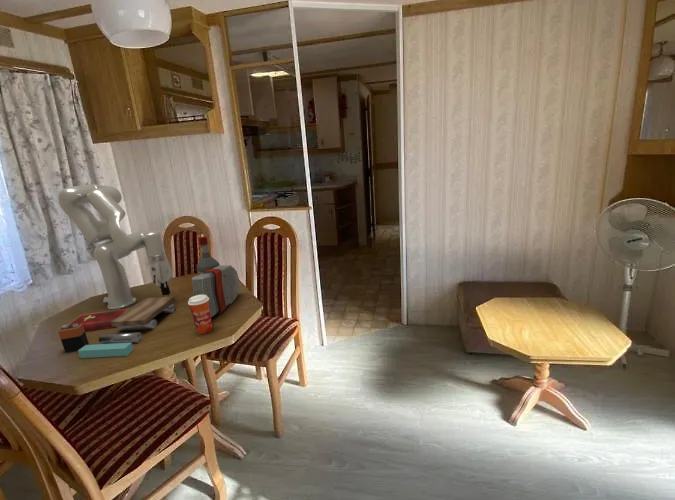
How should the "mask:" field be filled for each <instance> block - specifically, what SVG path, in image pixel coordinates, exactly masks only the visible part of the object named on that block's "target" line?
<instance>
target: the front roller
mask: <svg viewBox="0 0 675 500" xmlns="http://www.w3.org/2000/svg"><path fill="white" fill-rule="evenodd" d="M157 326H158V321H157V320H156V319H152V320H150V321H149V322H148V323H147V324H145V325H131V326H117V327H116V328H117V330H118V331H119V332H121V331H125V332H126V331H140V330H156V328H157Z"/></svg>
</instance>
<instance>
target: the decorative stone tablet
mask: <svg viewBox="0 0 675 500" xmlns="http://www.w3.org/2000/svg"><path fill="white" fill-rule="evenodd" d="M191 283H192V289H193V290H192V291H193V296H196V295H206V296H208V298H209V300H208V302H209V309H210V316H211V318H212V317H214V316H215V315H221V314H222V313H223V312H224V311H225V310H227V306H230V305H231V304H233V302H234V301H235V300H236V299H237V297H238V293H239V290H240V277H239V274H238V271H237V270H236V269H235V267H234V266H232V265H220V266H217V267H215V268H213V269H209V270H206V271H204V272H203V273H202V274H200V275H198V274H197V275H195V276H193V277H192V278H191Z"/></svg>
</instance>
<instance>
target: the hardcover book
mask: <svg viewBox="0 0 675 500" xmlns="http://www.w3.org/2000/svg"><path fill="white" fill-rule="evenodd" d="M129 309H130V307H129V308H120V309H112V310H105V311H100V312H99V311H98V312H91V313H90V312H89V313H85V314H80V315H78V316H77V317H75V319H73V320H72V321H70V322H69V323H68V324H67V325H73V324H76V323H77V324H81V323H82V324H83V326H84V330H85V333H87V332H95V331H100V330H110V329H114V328H117V326H113V327H112V324H111V322H112V321H113V320H115V319H116V318H117V317H119V316H120V315H122V314H123V313H125V312H126V311H128V310H129Z"/></svg>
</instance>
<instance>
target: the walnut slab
mask: <svg viewBox="0 0 675 500" xmlns="http://www.w3.org/2000/svg"><path fill="white" fill-rule="evenodd" d="M175 301H176V298H175V295H173V296H158V297H157V296H156V297H144V299H142V300H140V301H139V302H138V303H136V304H135V305H133V306H132V307H131V308H130V307H129V308H130V309H129V310H128V311H126V312H125V313H123V314H122V315H120V316H119V317H117V318H116V319H115V320H113V321H112V322H111V324H112V327H113V326H131V325H145V324H147V323H148V322H149V321H150V320H154V318H156V317H157V315H159V313H160V312H161V311H163V310H164V309H165V308H166V307H167V306H169V305H171V304H173V302H175Z"/></svg>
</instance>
